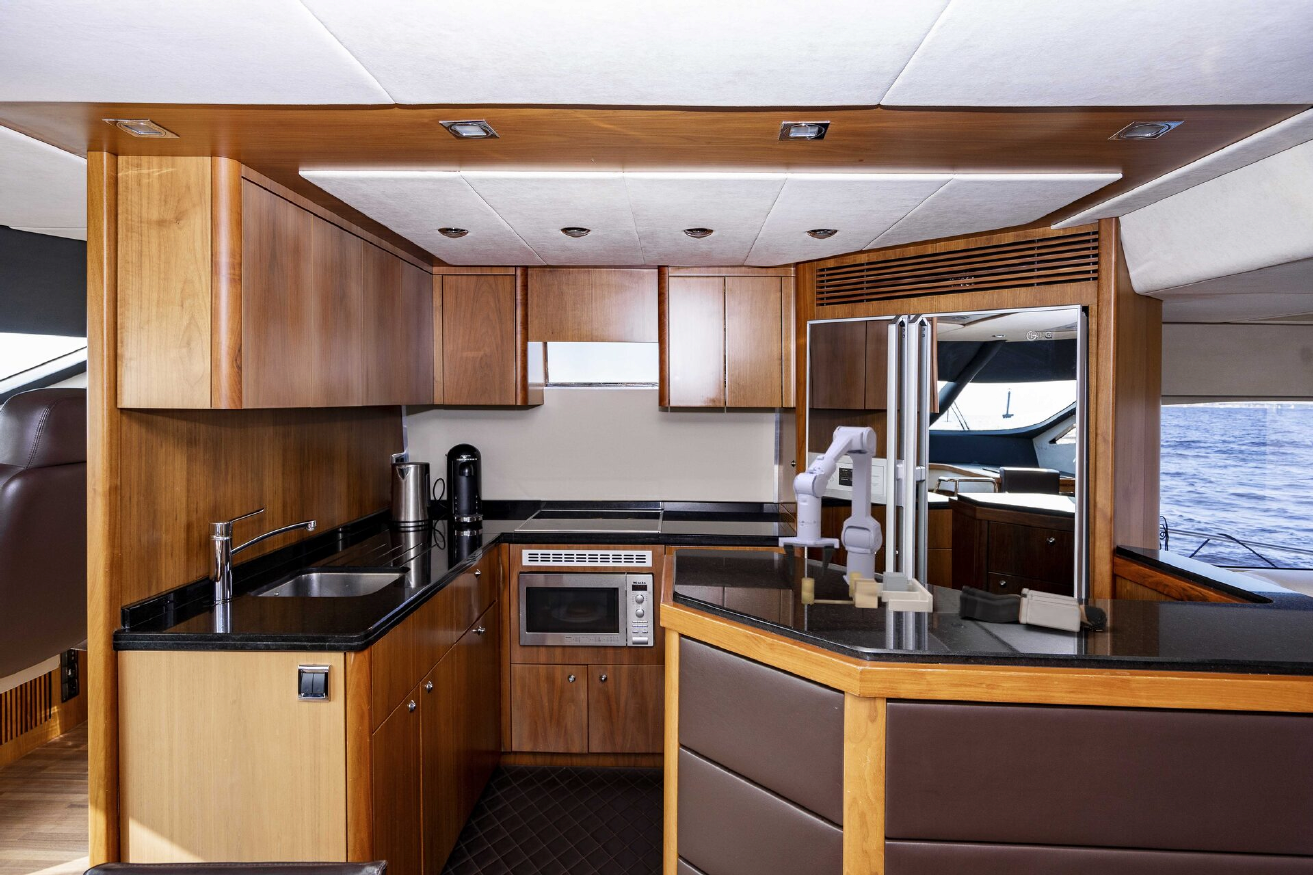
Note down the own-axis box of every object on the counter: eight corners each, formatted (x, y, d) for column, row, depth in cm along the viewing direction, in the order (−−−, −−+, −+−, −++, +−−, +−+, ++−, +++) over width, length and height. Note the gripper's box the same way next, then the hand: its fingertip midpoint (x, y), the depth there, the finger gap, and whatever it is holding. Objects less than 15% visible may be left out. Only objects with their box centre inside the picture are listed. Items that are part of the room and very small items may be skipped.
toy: (956, 621, 166) (1110, 645, 152) (958, 591, 166) (1112, 611, 152) (963, 606, 183) (1103, 626, 169) (965, 578, 183) (1104, 596, 169)
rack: (875, 592, 192) (875, 577, 192) (914, 593, 191) (914, 578, 191) (889, 610, 175) (889, 594, 175) (932, 612, 174) (932, 595, 174)
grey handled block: (847, 593, 191) (848, 570, 191) (902, 595, 190) (903, 572, 189) (850, 598, 186) (851, 575, 186) (906, 600, 185) (907, 576, 184)
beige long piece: (800, 599, 184) (801, 576, 184) (873, 602, 182) (874, 578, 182) (802, 605, 180) (802, 581, 179) (877, 608, 178) (877, 583, 177)
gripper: (780, 523, 177) (779, 578, 178) (841, 524, 176) (840, 580, 177) (778, 518, 184) (777, 571, 185) (836, 519, 183) (836, 573, 184)
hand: (808, 575), depth 181 cm, fingers open, 7 cm apart
